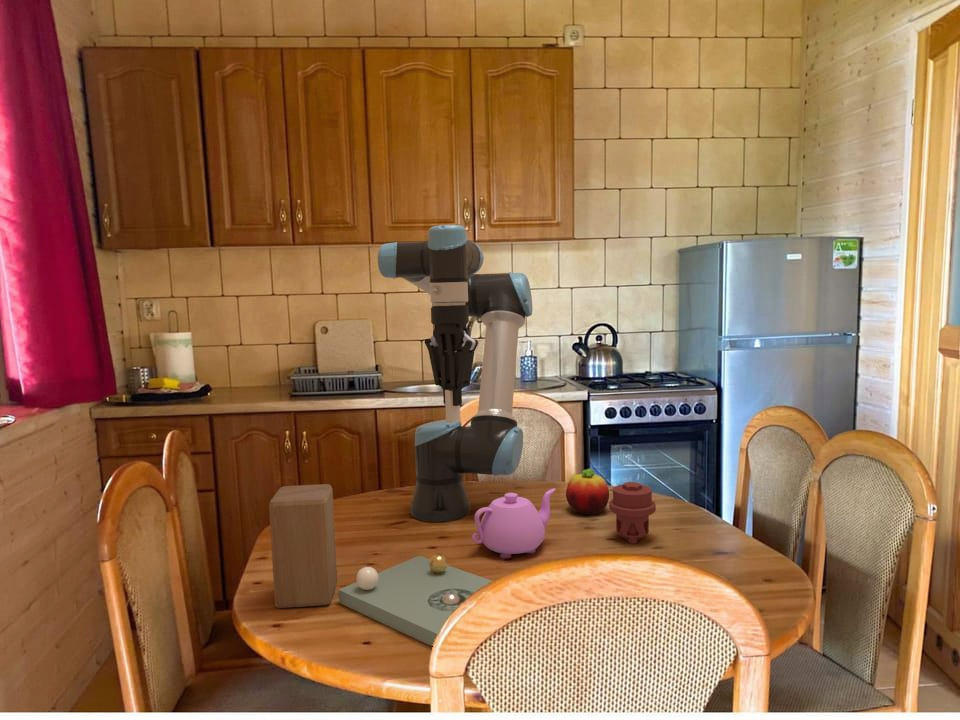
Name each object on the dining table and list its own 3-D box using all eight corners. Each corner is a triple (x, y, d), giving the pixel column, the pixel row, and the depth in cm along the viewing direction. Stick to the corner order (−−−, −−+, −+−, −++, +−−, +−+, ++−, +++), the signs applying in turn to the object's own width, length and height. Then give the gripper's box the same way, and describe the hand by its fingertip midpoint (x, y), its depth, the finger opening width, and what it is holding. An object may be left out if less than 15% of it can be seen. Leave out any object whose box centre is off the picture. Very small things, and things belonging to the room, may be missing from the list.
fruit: (561, 515, 165) (560, 476, 164) (572, 502, 175) (571, 465, 174) (604, 520, 161) (603, 479, 160) (613, 506, 171) (613, 468, 170)
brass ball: (425, 573, 128) (424, 555, 127) (438, 567, 130) (437, 549, 130) (438, 577, 125) (437, 559, 125) (451, 571, 128) (450, 554, 128)
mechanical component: (654, 531, 153) (657, 548, 143) (609, 529, 155) (609, 545, 145) (654, 478, 152) (656, 491, 142) (609, 477, 154) (608, 490, 144)
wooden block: (285, 586, 129) (279, 485, 127) (338, 583, 130) (332, 482, 128) (274, 610, 120) (267, 501, 118) (331, 607, 120) (325, 498, 118)
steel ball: (433, 607, 117) (440, 594, 115) (446, 597, 120) (453, 584, 118) (448, 621, 115) (455, 609, 114) (460, 611, 118) (467, 599, 117)
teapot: (542, 530, 156) (541, 479, 154) (573, 551, 143) (572, 495, 141) (461, 544, 148) (459, 491, 147) (486, 568, 135) (484, 509, 134)
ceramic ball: (352, 589, 121) (351, 568, 121) (369, 582, 124) (368, 561, 124) (366, 596, 119) (365, 574, 118) (383, 588, 122) (382, 566, 121)
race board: (339, 603, 122) (338, 589, 121) (419, 567, 137) (419, 555, 136) (440, 650, 104) (440, 635, 104) (520, 604, 119) (520, 590, 119)
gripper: (413, 305, 135) (417, 420, 138) (460, 304, 127) (464, 428, 129) (439, 304, 141) (443, 415, 143) (486, 303, 132) (489, 421, 135)
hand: (453, 421), depth 136 cm, fingers closed
